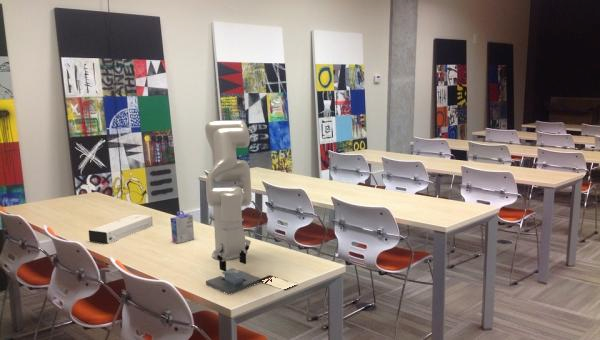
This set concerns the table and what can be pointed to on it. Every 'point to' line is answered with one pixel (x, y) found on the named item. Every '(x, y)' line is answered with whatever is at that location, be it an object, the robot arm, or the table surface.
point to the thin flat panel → (271, 281)
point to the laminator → (120, 228)
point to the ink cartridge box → (182, 227)
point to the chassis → (230, 288)
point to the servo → (233, 276)
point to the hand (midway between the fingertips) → (233, 266)
